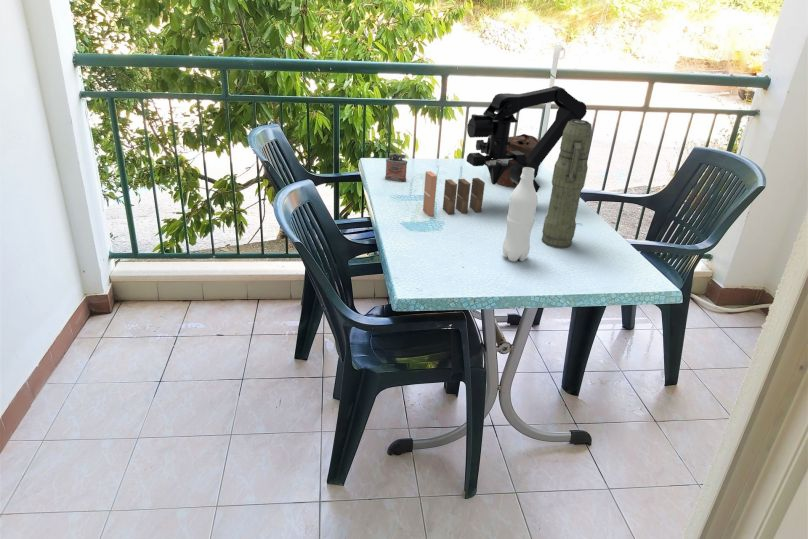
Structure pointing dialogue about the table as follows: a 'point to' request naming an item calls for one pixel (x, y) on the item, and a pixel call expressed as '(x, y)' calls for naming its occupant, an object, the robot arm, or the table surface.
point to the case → (517, 144)
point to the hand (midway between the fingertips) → (493, 184)
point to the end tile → (429, 193)
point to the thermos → (567, 184)
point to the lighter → (396, 168)
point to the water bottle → (520, 217)
